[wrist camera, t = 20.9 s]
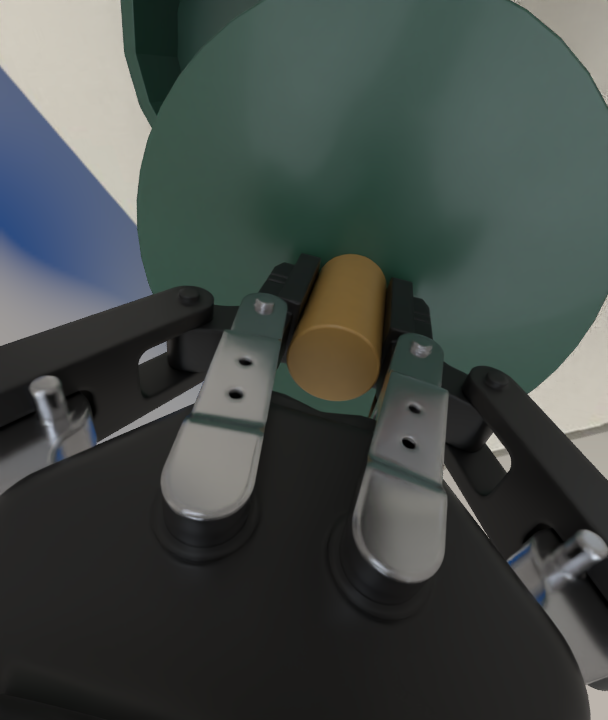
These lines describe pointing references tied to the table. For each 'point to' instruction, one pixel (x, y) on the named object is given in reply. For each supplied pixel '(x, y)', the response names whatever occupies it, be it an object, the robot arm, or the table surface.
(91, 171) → the table surface
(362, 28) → the tin lid
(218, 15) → the tin
